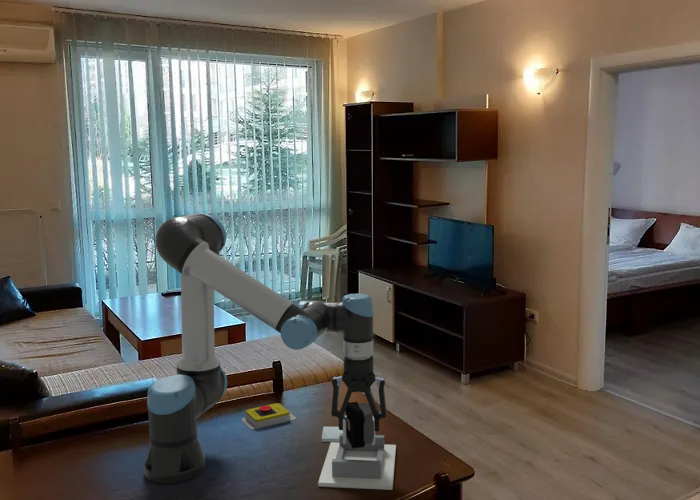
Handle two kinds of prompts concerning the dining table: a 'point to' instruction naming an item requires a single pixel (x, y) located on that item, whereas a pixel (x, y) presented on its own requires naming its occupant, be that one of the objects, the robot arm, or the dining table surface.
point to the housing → (359, 465)
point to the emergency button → (267, 416)
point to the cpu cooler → (359, 424)
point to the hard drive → (331, 434)
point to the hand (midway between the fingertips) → (359, 441)
